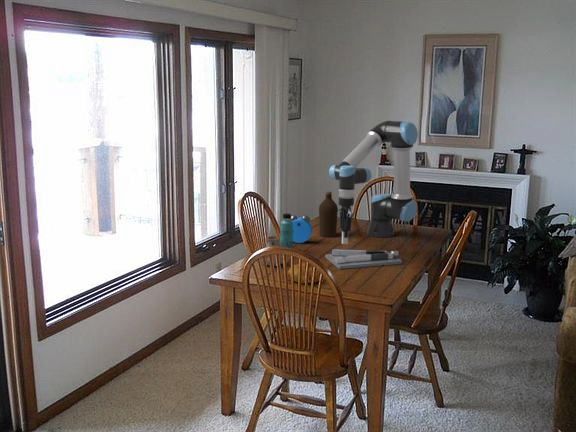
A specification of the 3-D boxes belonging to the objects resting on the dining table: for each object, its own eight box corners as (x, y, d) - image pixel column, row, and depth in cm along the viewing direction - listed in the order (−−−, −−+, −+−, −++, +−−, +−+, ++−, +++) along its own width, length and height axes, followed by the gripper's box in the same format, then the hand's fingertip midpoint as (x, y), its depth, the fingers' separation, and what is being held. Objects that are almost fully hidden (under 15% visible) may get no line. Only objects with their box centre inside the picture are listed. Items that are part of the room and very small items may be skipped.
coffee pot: (261, 260, 297) (261, 230, 294) (285, 260, 297) (285, 230, 294) (259, 274, 277) (259, 242, 273) (285, 274, 276) (285, 242, 273)
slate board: (384, 252, 312) (384, 249, 311) (402, 263, 293) (402, 260, 293) (325, 257, 303) (325, 254, 303) (339, 269, 284) (339, 266, 284)
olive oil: (328, 238, 339) (329, 194, 333) (314, 235, 346) (315, 191, 341) (341, 235, 346) (342, 192, 340) (327, 232, 353) (328, 189, 348)
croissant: (284, 281, 274) (281, 264, 272) (315, 272, 279) (313, 256, 277) (295, 290, 261) (293, 272, 259) (328, 281, 266) (326, 264, 264)
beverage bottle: (279, 250, 315) (279, 212, 311) (292, 250, 315) (292, 212, 311) (280, 253, 309) (280, 215, 304) (293, 253, 309) (293, 215, 305)
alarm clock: (311, 241, 333) (312, 214, 330) (310, 244, 327) (311, 216, 324) (288, 240, 335) (288, 213, 332) (286, 243, 329) (286, 215, 326)
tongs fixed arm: (396, 255, 301) (396, 250, 300) (400, 258, 296) (401, 252, 295) (333, 260, 292) (333, 254, 291) (337, 263, 287) (337, 257, 286)
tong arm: (386, 255, 301) (386, 250, 301) (386, 256, 298) (386, 251, 298) (332, 253, 303) (332, 248, 302) (332, 255, 300) (332, 250, 300)
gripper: (334, 195, 306) (333, 240, 311) (344, 199, 294) (342, 247, 299) (348, 194, 308) (347, 240, 313) (358, 199, 296) (356, 246, 301)
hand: (344, 243), depth 306 cm, fingers closed
